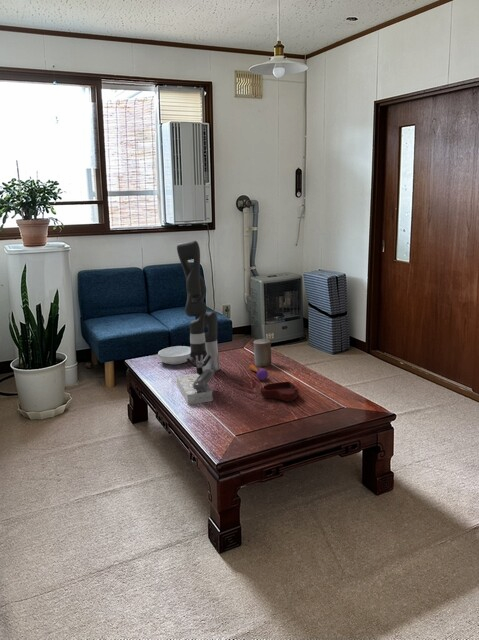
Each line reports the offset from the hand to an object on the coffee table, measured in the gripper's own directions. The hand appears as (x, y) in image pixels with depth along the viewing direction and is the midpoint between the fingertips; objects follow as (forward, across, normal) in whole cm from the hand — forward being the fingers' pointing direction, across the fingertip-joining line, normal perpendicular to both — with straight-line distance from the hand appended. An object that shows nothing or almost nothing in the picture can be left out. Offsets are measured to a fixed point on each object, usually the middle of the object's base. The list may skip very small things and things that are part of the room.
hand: (199, 374), depth 282 cm
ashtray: (+8, -35, +24) cm, 44 cm away
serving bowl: (+8, +5, -48) cm, 49 cm away
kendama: (+8, -33, -8) cm, 35 cm away
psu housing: (+8, +4, +4) cm, 10 cm away
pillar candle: (+7, -41, -25) cm, 49 cm away
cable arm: (+1, 0, +9) cm, 9 cm away
